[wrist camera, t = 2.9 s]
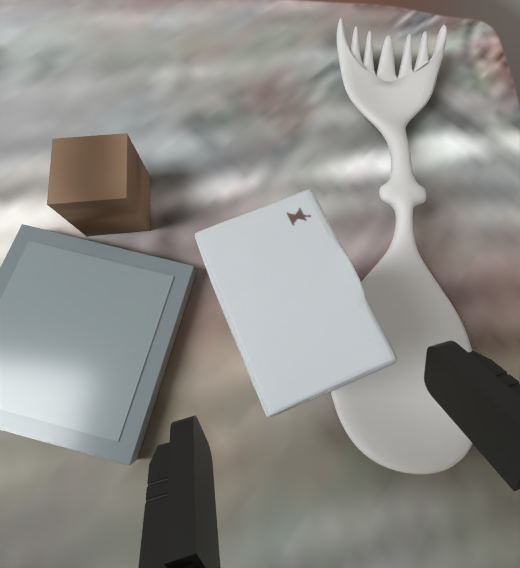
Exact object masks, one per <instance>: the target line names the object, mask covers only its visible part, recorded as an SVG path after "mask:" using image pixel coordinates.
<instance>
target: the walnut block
mask: <svg viewBox="0 0 520 568" xmlns="http://www.w3.org/2000/svg"><path fill="white" fill-rule="evenodd" d="M47 205H48V206H50V207H51V208H52V209H53V210H55V211H56V212H57V213H58V214H60V215H61V216H62V217H63V218H65V219H66V220H67V221H68V222H70V223H71V224H72V225H73V226H74V227H76V228H77V229H78V230H79V231H81V232H82V233H83V234H84V235H86V236H94V235H106V234H118V233H130V232H141V231H151V228H150V175H149V173H148V172H147V170H146V168H145V166H144V164H143V162H142V160H141V159H140V157H139V155H138V153H137V151H136V149H135V147H134V145H133V144H132V142H131V140H130V138H129V136H128V134H113V135H99V136H85V137H72V138H58V139H53V141H52V153H51V165H50V176H49V188H48V200H47Z"/></svg>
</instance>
